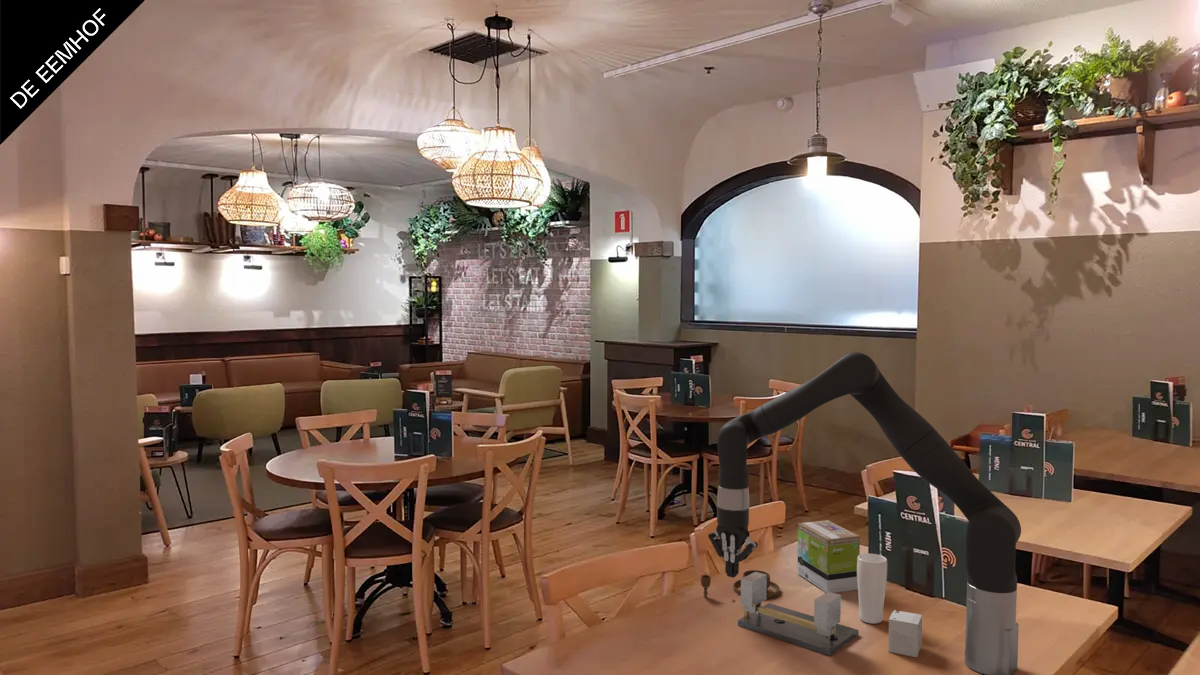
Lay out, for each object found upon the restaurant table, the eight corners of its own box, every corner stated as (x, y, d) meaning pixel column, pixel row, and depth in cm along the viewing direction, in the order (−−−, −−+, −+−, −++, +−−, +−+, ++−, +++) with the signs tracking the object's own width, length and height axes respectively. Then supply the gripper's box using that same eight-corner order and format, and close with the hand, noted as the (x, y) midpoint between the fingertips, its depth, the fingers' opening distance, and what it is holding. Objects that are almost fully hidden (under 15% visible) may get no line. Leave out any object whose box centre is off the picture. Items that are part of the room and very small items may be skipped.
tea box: (795, 574, 218) (796, 521, 217) (827, 571, 221) (828, 518, 220) (827, 594, 204) (828, 538, 203) (860, 590, 207) (861, 534, 206)
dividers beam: (839, 639, 174) (840, 595, 174) (826, 648, 170) (827, 603, 169) (753, 611, 189) (753, 571, 189) (738, 619, 185) (739, 578, 184)
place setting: (780, 608, 196) (781, 584, 196) (699, 601, 200) (699, 578, 200) (778, 582, 213) (779, 561, 213) (704, 577, 217) (704, 556, 217)
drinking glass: (887, 627, 184) (889, 563, 183) (857, 624, 185) (858, 561, 184) (883, 615, 190) (885, 554, 189) (854, 613, 192) (855, 552, 191)
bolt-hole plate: (858, 635, 179) (858, 629, 179) (830, 655, 169) (830, 650, 169) (768, 607, 195) (769, 602, 195) (737, 625, 184) (737, 620, 184)
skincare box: (917, 658, 168) (918, 624, 168) (887, 652, 171) (888, 618, 171) (921, 647, 173) (922, 614, 173) (892, 641, 176) (893, 609, 176)
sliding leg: (766, 614, 187) (766, 574, 186) (751, 622, 182) (752, 581, 182) (755, 610, 189) (755, 571, 188) (740, 618, 184) (741, 578, 184)
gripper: (765, 506, 187) (764, 579, 188) (718, 496, 195) (717, 565, 196) (748, 513, 181) (747, 587, 182) (701, 502, 190) (699, 573, 191)
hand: (731, 576), depth 189 cm, fingers closed
